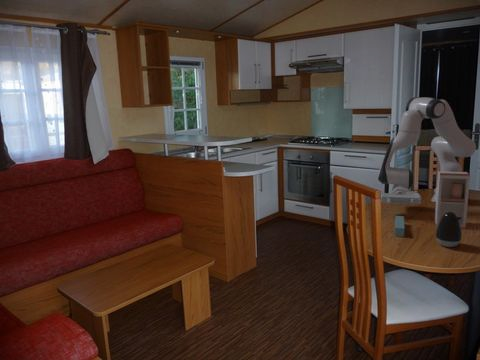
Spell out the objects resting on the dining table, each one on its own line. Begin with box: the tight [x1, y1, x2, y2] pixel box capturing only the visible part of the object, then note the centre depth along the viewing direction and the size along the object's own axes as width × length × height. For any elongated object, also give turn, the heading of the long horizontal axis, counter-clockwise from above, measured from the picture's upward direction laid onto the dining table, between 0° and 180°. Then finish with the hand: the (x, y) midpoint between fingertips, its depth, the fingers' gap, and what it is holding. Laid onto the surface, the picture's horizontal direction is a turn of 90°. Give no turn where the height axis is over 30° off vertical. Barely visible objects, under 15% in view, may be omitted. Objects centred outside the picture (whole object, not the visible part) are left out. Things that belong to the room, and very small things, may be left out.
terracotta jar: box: [451, 183, 463, 199], centre depth 203 cm, size 5×5×8 cm
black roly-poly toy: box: [435, 212, 463, 248], centre depth 180 cm, size 10×10×15 cm
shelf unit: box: [434, 170, 471, 229], centre depth 205 cm, size 9×13×27 cm
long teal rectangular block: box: [394, 215, 405, 238], centre depth 202 cm, size 4×19×4 cm, turn 160°
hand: (400, 202), depth 213 cm, fingers open, 8 cm apart
